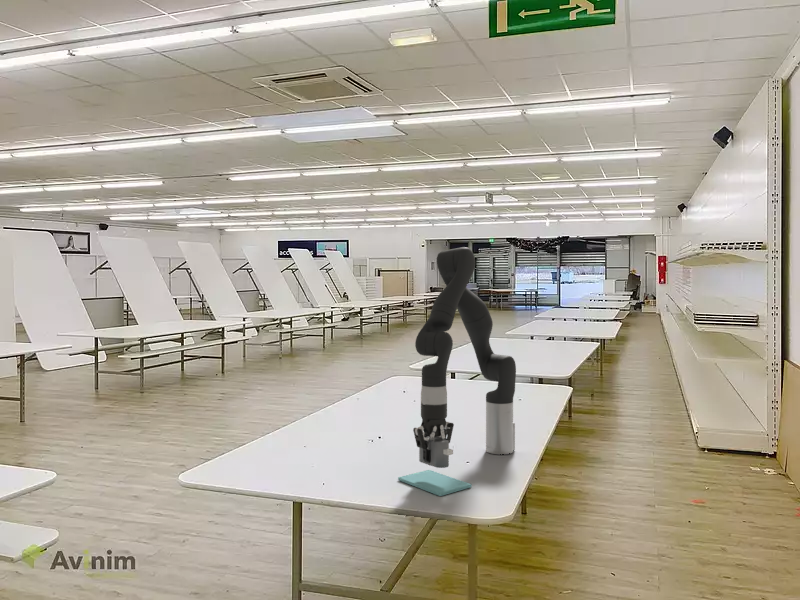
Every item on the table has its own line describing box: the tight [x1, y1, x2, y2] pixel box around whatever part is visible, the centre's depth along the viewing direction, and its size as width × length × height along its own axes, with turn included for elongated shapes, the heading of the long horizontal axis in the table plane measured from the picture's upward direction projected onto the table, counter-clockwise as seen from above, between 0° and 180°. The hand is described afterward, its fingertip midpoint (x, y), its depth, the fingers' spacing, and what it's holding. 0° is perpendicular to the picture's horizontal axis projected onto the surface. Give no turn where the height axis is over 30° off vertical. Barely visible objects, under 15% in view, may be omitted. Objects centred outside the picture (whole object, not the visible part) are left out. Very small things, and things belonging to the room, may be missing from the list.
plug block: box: [418, 437, 454, 469], centre depth 177 cm, size 4×12×7 cm, turn 39°
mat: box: [397, 469, 472, 497], centre depth 178 cm, size 12×18×1 cm, turn 39°
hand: (433, 460), depth 177 cm, fingers closed on plug block, 4 cm apart
